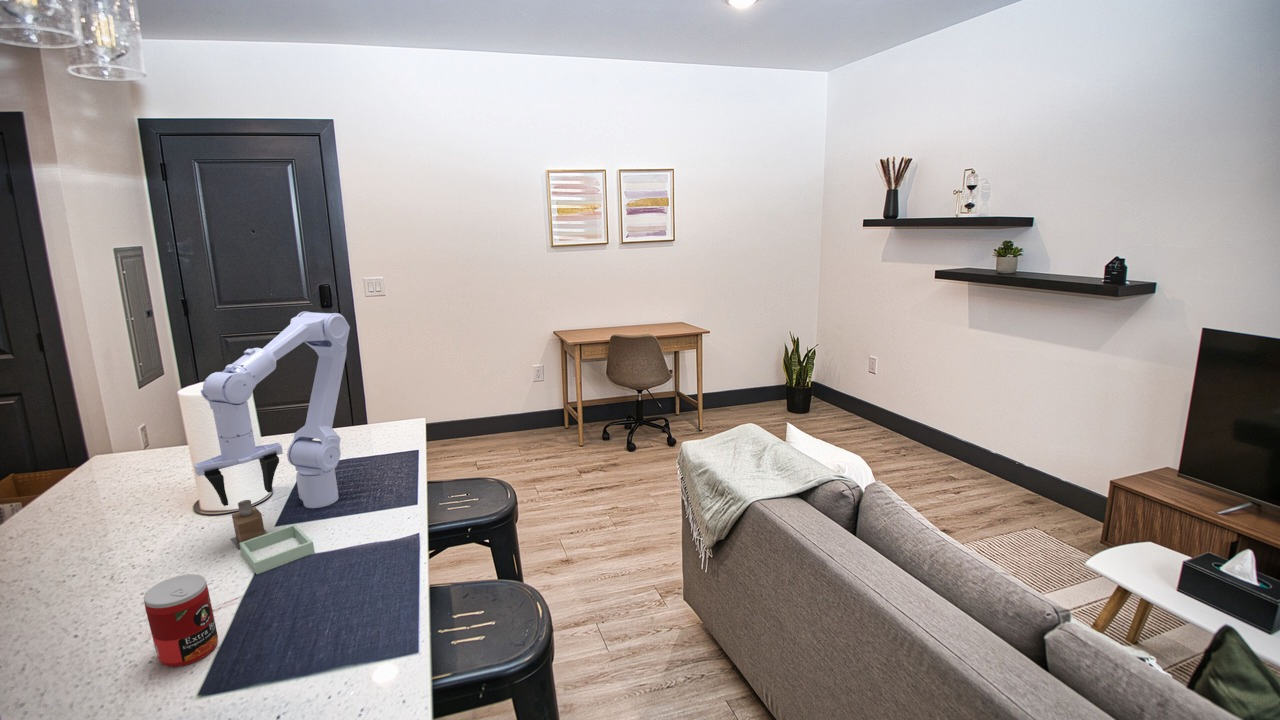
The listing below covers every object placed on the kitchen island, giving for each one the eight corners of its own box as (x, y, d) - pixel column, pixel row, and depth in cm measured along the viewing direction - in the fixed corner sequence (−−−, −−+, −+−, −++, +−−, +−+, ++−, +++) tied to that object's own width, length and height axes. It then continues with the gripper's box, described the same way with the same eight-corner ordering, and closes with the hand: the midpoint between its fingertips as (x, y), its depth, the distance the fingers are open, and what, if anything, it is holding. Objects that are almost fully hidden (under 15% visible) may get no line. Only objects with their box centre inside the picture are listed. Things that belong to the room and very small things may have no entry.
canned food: (191, 671, 93) (176, 606, 90) (144, 665, 94) (128, 601, 91) (231, 636, 100) (219, 575, 97) (187, 631, 101) (174, 571, 99)
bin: (242, 559, 122) (239, 543, 121) (297, 539, 129) (295, 523, 128) (257, 580, 115) (254, 563, 114) (315, 557, 122) (312, 541, 121)
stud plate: (231, 544, 127) (226, 521, 126) (264, 532, 131) (260, 511, 130) (239, 555, 123) (234, 532, 122) (273, 543, 127) (269, 521, 126)
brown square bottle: (236, 538, 127) (229, 502, 125) (259, 530, 130) (253, 495, 128) (242, 546, 124) (235, 509, 122) (265, 538, 127) (259, 502, 125)
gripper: (195, 449, 113) (209, 517, 117) (283, 427, 123) (293, 491, 127) (186, 439, 118) (200, 505, 121) (271, 419, 128) (281, 480, 131)
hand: (247, 497), depth 124 cm, fingers open, 7 cm apart
